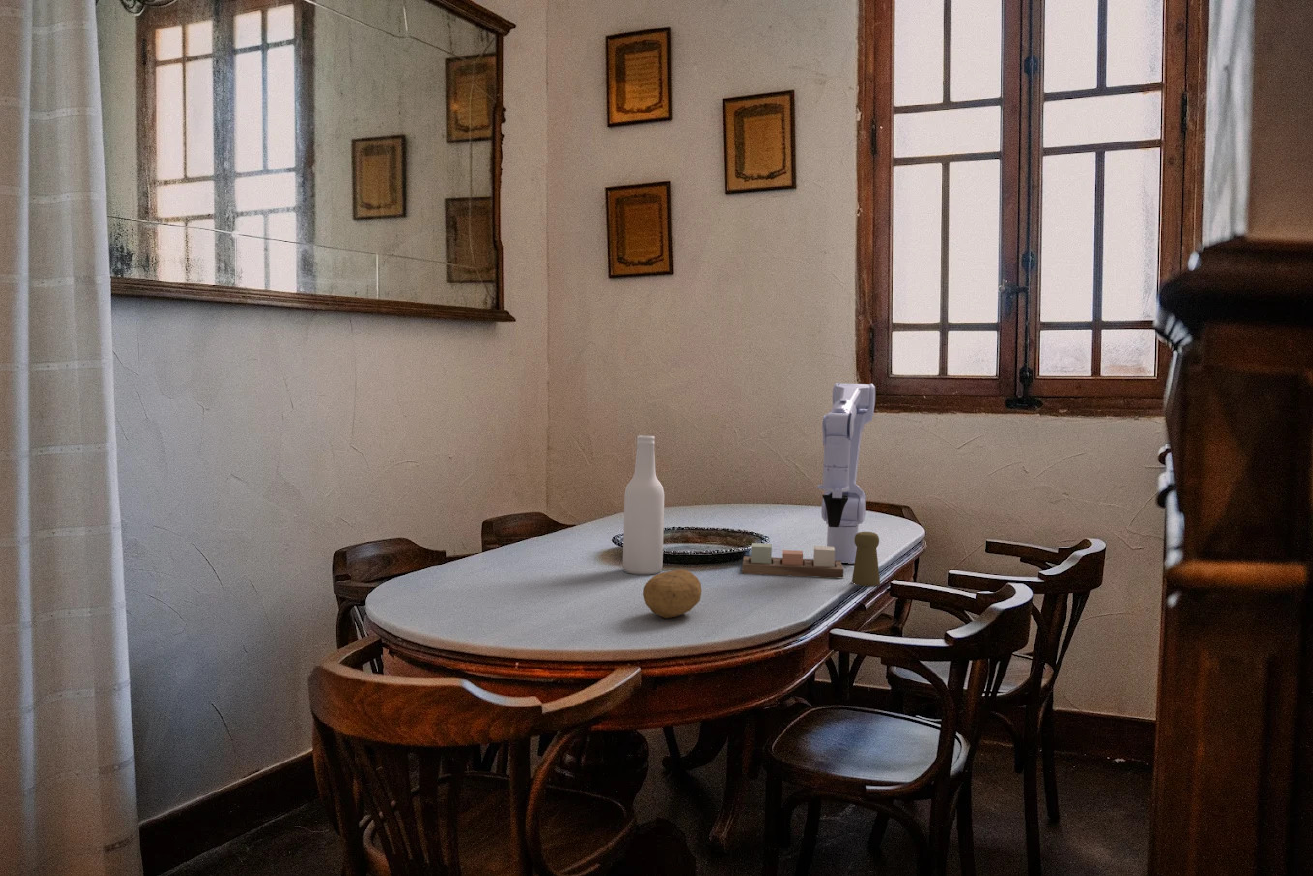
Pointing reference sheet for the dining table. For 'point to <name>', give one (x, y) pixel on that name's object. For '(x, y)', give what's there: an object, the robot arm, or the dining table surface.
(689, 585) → the potato
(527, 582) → the dining table surface
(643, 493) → the alcohol
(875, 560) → the cork
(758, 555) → the sage button
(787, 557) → the terracotta button
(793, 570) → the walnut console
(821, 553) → the cream button
